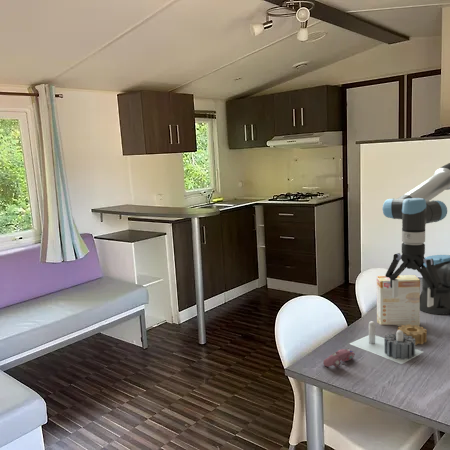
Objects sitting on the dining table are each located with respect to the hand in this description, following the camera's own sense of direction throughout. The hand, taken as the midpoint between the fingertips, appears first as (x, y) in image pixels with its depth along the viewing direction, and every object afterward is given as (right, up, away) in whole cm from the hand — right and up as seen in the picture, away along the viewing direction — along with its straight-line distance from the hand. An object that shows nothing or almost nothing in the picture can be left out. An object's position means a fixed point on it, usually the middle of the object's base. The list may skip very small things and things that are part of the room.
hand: (412, 301), depth 162 cm
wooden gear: (+1, -15, +3) cm, 16 cm away
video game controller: (-28, -20, -11) cm, 36 cm away
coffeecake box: (+2, -13, +19) cm, 23 cm away
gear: (-7, -16, -8) cm, 19 cm away
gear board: (-11, -17, -3) cm, 20 cm away
